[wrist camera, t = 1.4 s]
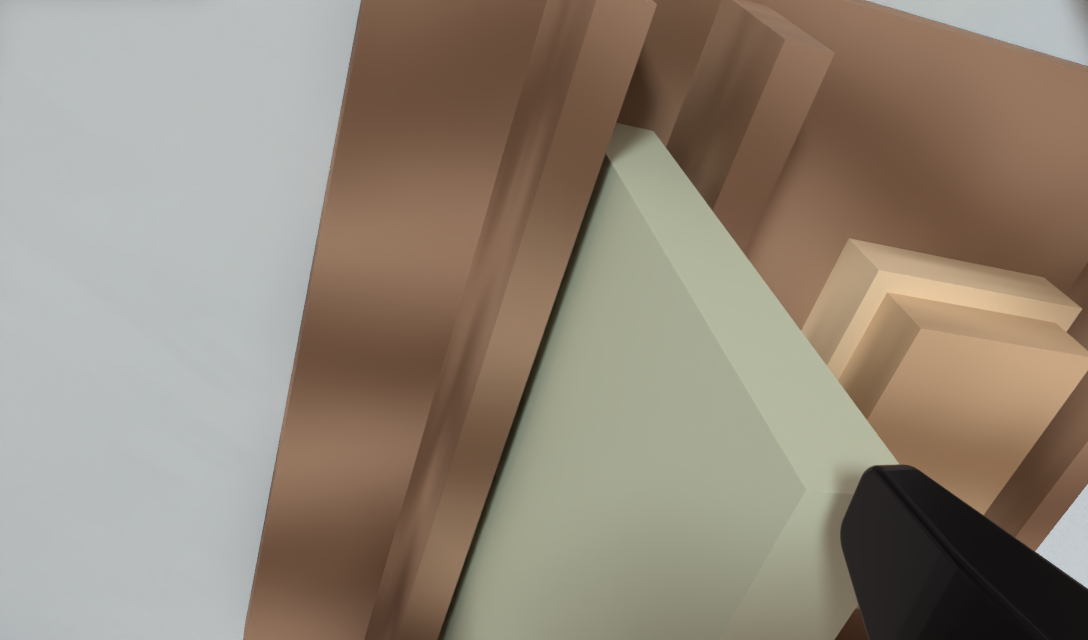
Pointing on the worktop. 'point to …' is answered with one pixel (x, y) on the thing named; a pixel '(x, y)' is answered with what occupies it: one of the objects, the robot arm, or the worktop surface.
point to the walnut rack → (554, 221)
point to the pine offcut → (918, 294)
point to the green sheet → (666, 443)
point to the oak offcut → (961, 389)
